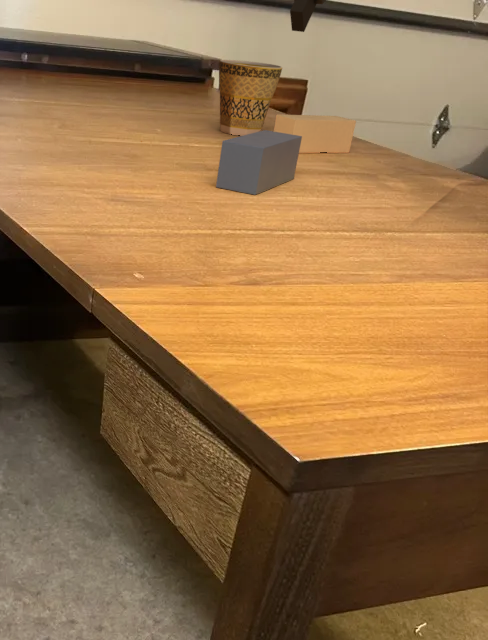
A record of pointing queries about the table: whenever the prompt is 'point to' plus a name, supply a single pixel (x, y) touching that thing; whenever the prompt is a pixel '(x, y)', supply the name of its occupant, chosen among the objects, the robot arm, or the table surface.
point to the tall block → (318, 132)
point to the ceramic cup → (245, 94)
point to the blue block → (258, 161)
